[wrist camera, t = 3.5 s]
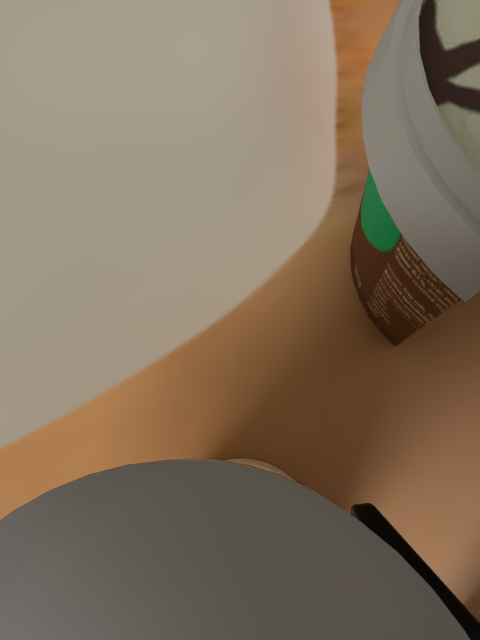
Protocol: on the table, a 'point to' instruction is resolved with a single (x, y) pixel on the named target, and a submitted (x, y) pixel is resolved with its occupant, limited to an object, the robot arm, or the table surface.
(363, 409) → the table surface
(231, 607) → the grey round glossy part
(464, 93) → the food container
